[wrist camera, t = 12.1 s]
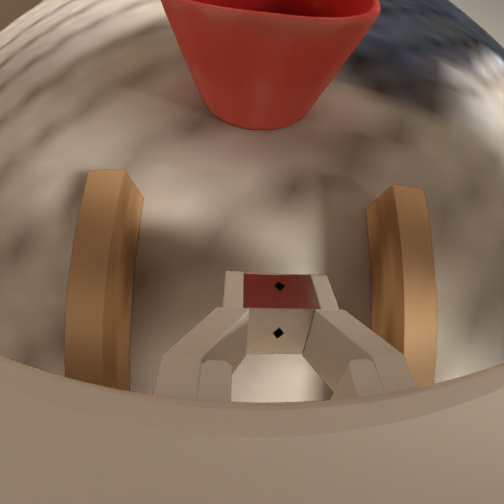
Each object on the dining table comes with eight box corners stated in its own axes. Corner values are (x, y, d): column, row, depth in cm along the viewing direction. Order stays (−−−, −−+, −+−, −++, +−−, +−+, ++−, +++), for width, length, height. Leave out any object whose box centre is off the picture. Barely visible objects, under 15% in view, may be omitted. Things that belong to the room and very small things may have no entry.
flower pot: (281, 184, 16) (326, 50, 7) (149, 104, 17) (113, -11, 8) (355, 93, 19) (403, -5, 9) (241, 35, 20) (246, -58, 10)
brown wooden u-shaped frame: (371, 522, 12) (392, 547, 8) (117, 522, 11) (100, 549, 7) (393, 212, 17) (423, 189, 13) (113, 198, 16) (89, 170, 12)
